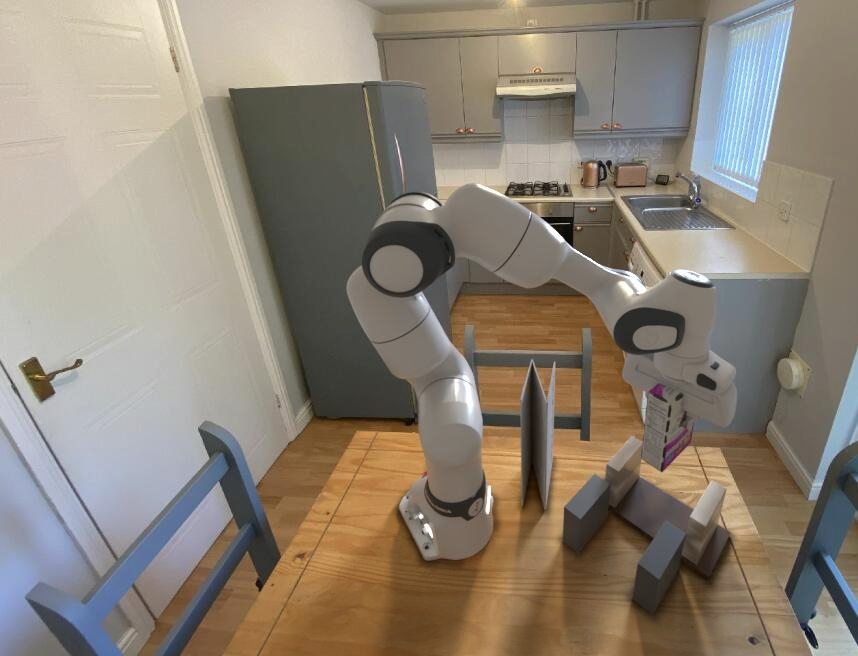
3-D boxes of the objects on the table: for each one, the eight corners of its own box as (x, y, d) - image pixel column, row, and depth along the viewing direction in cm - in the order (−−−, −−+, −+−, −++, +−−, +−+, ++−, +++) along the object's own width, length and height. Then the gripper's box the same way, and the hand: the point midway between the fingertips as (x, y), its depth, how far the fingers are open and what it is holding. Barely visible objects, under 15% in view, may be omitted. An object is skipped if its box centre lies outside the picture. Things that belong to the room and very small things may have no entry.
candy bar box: (668, 429, 88) (678, 365, 82) (691, 443, 85) (703, 376, 78) (638, 458, 81) (646, 390, 75) (661, 474, 78) (672, 404, 72)
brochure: (545, 510, 94) (547, 403, 82) (521, 506, 95) (520, 399, 83) (552, 460, 106) (555, 361, 95) (531, 457, 107) (531, 359, 96)
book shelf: (592, 498, 96) (595, 458, 91) (619, 467, 104) (623, 429, 99) (708, 581, 79) (719, 537, 75) (729, 536, 87) (741, 494, 83)
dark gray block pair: (562, 540, 87) (563, 506, 83) (592, 505, 94) (594, 473, 91) (652, 615, 74) (659, 579, 70) (678, 568, 82) (686, 533, 78)
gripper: (618, 344, 79) (613, 402, 84) (734, 391, 66) (719, 456, 71) (635, 330, 83) (629, 387, 89) (746, 372, 70) (732, 436, 75)
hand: (670, 418), depth 80 cm, fingers closed on candy bar box, 5 cm apart
